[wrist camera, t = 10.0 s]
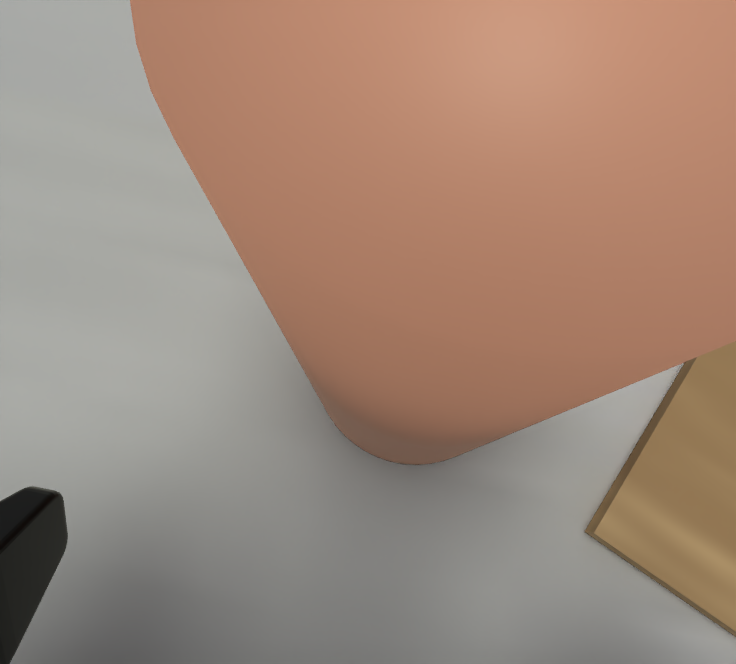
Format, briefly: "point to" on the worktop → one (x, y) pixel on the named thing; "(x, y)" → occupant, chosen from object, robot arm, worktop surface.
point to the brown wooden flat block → (683, 491)
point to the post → (464, 195)
